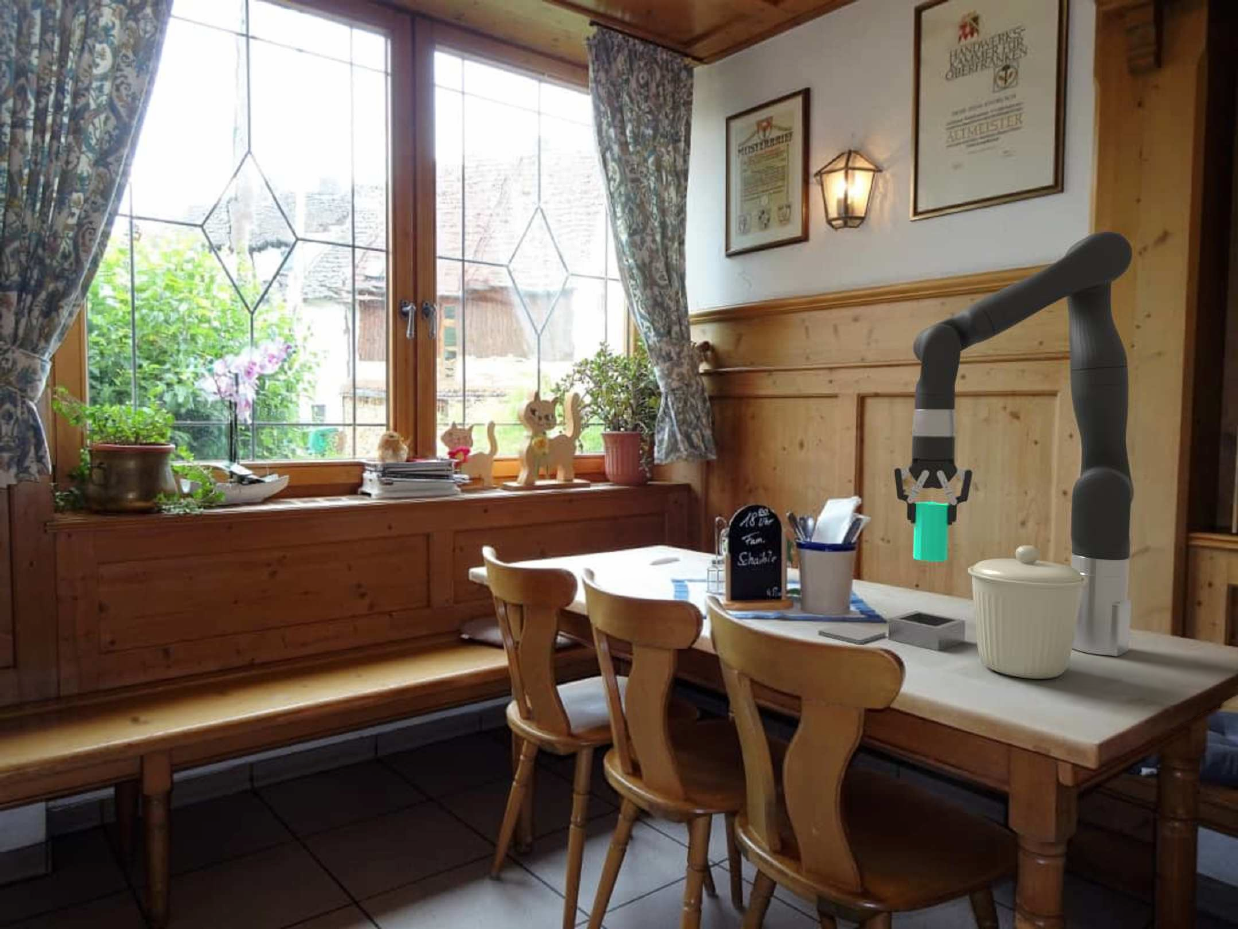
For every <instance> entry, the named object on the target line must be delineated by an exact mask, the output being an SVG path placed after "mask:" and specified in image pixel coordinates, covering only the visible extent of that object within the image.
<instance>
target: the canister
mask: <svg viewBox="0 0 1238 929" xmlns="http://www.w3.org/2000/svg"><path fill="white" fill-rule="evenodd" d="M1014 554H1015V558H991V559H985V560H982V561H981V560H980V561H978V562H977V563H975V564H974V565H972V566H969V567H968V568H967V572H968V574H969V575H970V576H971V581H972V584H971V585H972V586H971V587H972V600H973V609H974V610H973V611H974V623H975V625H974V626H975V634H976V642H977V643H976V644H977V650H978V651H977V652H978V654H979V658H980V660H981V662H982V663H983V664H984V666H986V667H988V669H990V670H992V671H995V672H997V673H999V674H1000V673H1001V675H1005V676H1006V675H1007V676H1011V677H1017V678H1021V679H1022V678H1023V679H1033V680H1035V679H1037V680H1039V679H1043V680H1044V679H1052V678H1056V677H1059V676H1060V675H1062V674H1063V673H1064V672H1065V671H1066V669H1067V668H1068V666H1069V663H1070V660H1071V655H1072V650H1073V648H1072V646H1073V641H1074V636H1075V630H1076V625H1077V619H1078V613H1079V607H1080V602H1081V595H1082V589H1083V585H1085V584H1086V583H1087V582H1088V578H1087V577H1086V576H1084V575H1081V574H1080V573H1079V572H1078V571H1077V570H1075V569H1073V568H1071V566H1068V565H1065V564H1060V563H1056V562H1051V561H1046V560H1039V556H1040V551H1039V550H1038V549H1037V548H1036V547H1035V546H1032V545H1020V546H1019V547H1017V548H1016V550H1015V553H1014Z"/></svg>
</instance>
